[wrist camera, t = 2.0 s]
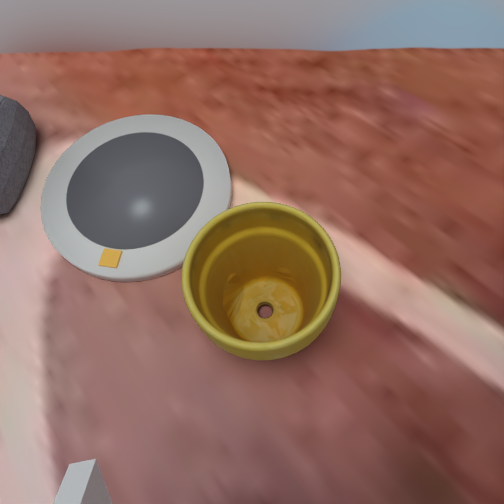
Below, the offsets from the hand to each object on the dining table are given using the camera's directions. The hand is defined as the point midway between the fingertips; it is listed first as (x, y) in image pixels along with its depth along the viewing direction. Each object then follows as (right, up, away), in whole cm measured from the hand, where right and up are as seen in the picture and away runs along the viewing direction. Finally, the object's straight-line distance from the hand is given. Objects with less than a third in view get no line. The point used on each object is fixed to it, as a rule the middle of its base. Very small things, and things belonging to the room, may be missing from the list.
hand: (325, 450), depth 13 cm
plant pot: (-1, 0, +24) cm, 24 cm away
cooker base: (-13, +11, +30) cm, 34 cm away
